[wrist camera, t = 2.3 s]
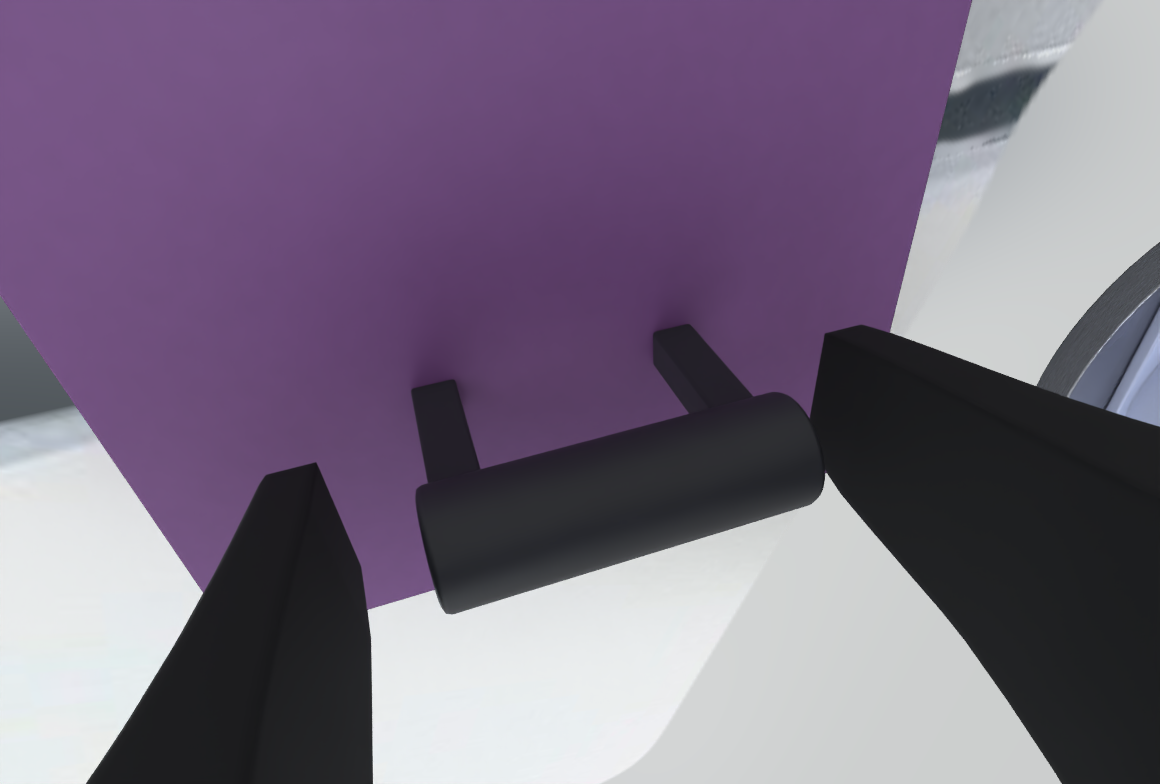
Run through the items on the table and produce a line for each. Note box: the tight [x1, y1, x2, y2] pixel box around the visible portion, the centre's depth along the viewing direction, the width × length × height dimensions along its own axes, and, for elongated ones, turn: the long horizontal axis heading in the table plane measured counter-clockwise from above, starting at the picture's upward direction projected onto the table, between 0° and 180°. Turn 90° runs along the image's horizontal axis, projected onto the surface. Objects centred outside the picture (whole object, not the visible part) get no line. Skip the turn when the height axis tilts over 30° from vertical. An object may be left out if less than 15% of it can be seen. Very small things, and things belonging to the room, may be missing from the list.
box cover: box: [0, 0, 972, 614], centre depth 9 cm, size 13×13×4 cm
